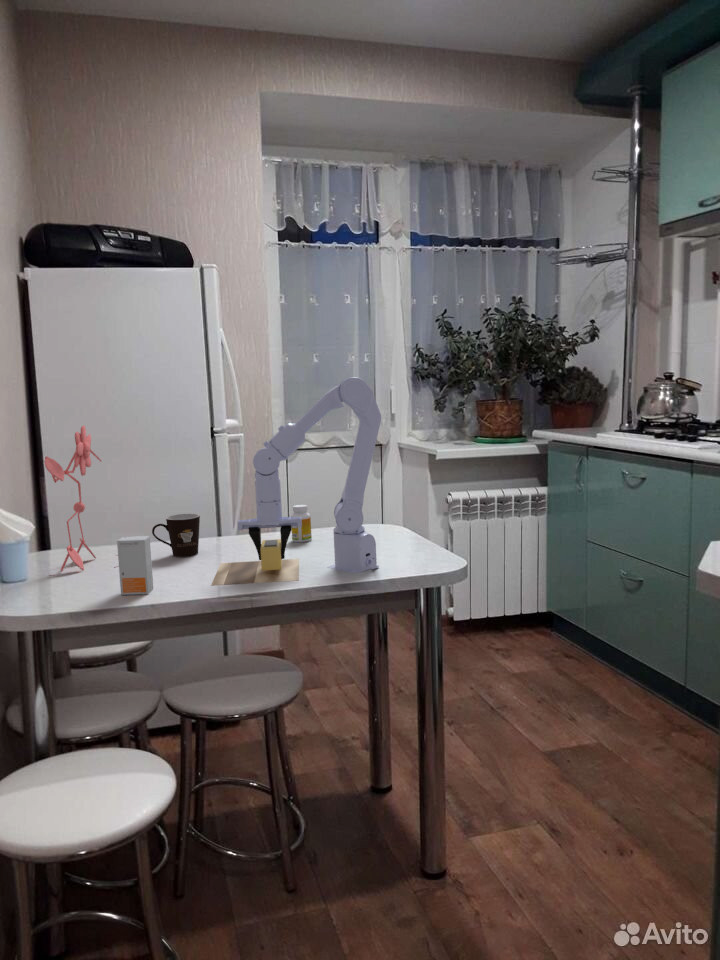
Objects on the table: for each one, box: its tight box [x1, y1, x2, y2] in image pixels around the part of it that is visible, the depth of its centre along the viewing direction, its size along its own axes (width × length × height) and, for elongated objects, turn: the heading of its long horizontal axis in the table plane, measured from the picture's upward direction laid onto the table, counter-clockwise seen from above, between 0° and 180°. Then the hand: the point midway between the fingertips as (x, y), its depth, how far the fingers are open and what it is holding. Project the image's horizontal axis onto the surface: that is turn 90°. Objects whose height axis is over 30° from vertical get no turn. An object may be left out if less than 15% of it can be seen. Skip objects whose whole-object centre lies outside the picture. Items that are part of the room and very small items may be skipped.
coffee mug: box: [151, 513, 201, 558], centre depth 197 cm, size 12×9×10 cm
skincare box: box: [116, 535, 154, 596], centre depth 162 cm, size 6×4×12 cm
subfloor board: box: [210, 558, 300, 586], centre depth 174 cm, size 19×20×1 cm
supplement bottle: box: [290, 504, 312, 543], centre depth 208 cm, size 5×5×10 cm
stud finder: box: [260, 538, 283, 570], centre depth 174 cm, size 4×9×5 cm, turn 4°
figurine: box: [44, 425, 119, 577], centre depth 187 cm, size 15×26×35 cm, turn 2°
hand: (271, 558), depth 174 cm, fingers closed on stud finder, 4 cm apart
